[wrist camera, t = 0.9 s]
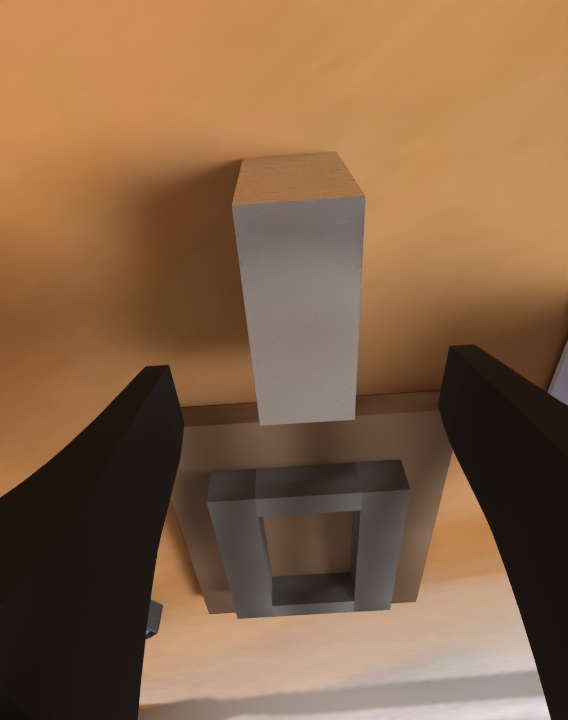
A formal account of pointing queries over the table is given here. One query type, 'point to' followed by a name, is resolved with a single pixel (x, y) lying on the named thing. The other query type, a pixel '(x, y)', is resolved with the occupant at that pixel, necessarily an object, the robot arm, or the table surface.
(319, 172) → the gray rectangular block
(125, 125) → the table surface
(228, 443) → the slot stand
